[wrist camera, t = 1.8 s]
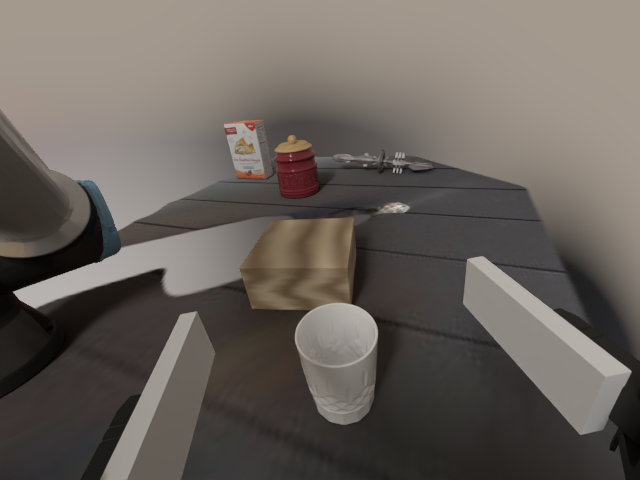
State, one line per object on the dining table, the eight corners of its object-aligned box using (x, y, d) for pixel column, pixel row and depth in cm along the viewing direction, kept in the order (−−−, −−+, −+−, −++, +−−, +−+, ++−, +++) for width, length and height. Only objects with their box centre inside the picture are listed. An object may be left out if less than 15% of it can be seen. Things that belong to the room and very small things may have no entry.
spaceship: (337, 147, 108) (330, 144, 100) (435, 155, 97) (436, 151, 89) (334, 169, 109) (328, 167, 102) (431, 178, 98) (431, 177, 91)
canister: (298, 202, 85) (288, 141, 76) (272, 194, 93) (260, 138, 85) (328, 188, 92) (322, 131, 84) (301, 182, 101) (293, 130, 92)
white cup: (366, 357, 36) (362, 296, 31) (390, 421, 29) (391, 355, 24) (304, 371, 35) (291, 311, 30) (314, 440, 28) (299, 376, 23)
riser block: (251, 308, 46) (239, 268, 42) (279, 254, 60) (271, 220, 56) (351, 311, 43) (347, 268, 39) (356, 254, 57) (353, 217, 53)
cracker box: (237, 179, 115) (222, 123, 105) (246, 174, 120) (232, 121, 109) (266, 179, 109) (253, 121, 99) (274, 175, 114) (263, 118, 104)
